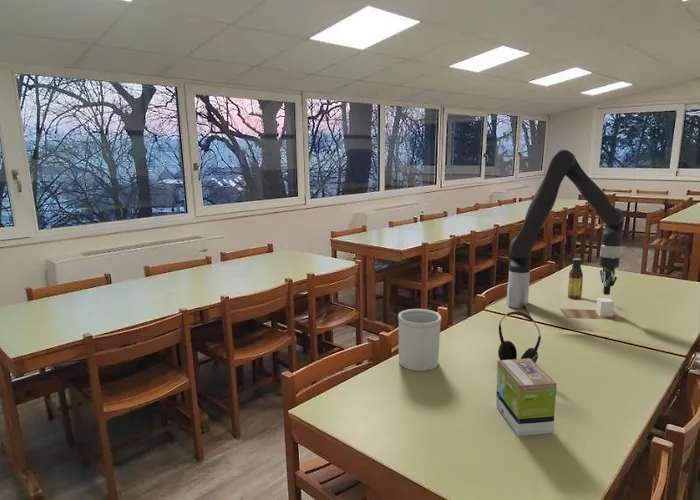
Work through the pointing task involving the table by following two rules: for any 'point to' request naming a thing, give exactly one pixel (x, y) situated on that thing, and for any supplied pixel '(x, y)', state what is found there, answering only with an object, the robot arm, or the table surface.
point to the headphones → (508, 348)
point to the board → (588, 314)
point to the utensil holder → (419, 339)
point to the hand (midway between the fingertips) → (606, 294)
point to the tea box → (526, 396)
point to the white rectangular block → (605, 307)
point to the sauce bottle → (575, 280)
